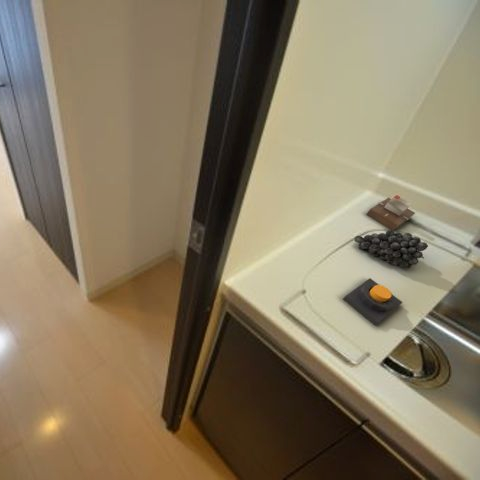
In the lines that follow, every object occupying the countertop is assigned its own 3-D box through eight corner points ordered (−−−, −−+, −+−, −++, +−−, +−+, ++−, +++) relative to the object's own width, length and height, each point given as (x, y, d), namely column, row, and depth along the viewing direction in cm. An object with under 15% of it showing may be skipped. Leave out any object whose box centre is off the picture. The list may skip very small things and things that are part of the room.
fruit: (367, 225, 82) (438, 248, 77) (363, 215, 88) (429, 235, 83) (349, 254, 86) (415, 277, 81) (347, 242, 93) (408, 262, 88)
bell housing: (364, 283, 81) (374, 273, 78) (396, 307, 77) (408, 298, 74) (340, 300, 78) (350, 291, 75) (372, 327, 73) (384, 318, 70)
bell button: (374, 286, 76) (379, 282, 75) (389, 298, 74) (395, 293, 73) (366, 293, 75) (370, 289, 74) (381, 305, 73) (386, 300, 71)
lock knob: (402, 214, 94) (412, 203, 91) (399, 216, 94) (409, 205, 90) (386, 205, 97) (396, 194, 94) (383, 207, 96) (393, 196, 93)
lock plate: (381, 204, 102) (387, 196, 99) (409, 220, 97) (417, 213, 95) (363, 215, 98) (369, 207, 96) (392, 233, 93) (399, 225, 91)
